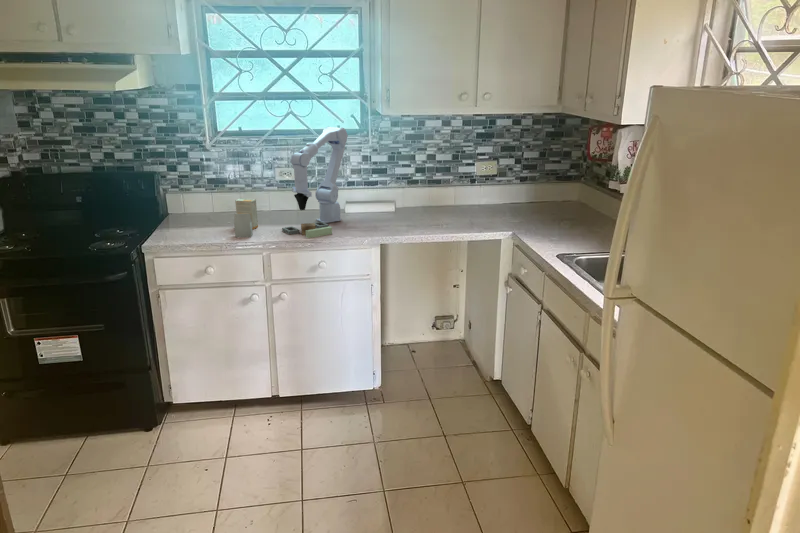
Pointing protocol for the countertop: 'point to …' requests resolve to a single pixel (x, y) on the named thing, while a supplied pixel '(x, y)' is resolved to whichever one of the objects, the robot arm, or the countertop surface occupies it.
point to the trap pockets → (320, 231)
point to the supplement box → (247, 209)
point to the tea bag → (243, 225)
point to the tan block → (307, 227)
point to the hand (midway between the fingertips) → (302, 209)
